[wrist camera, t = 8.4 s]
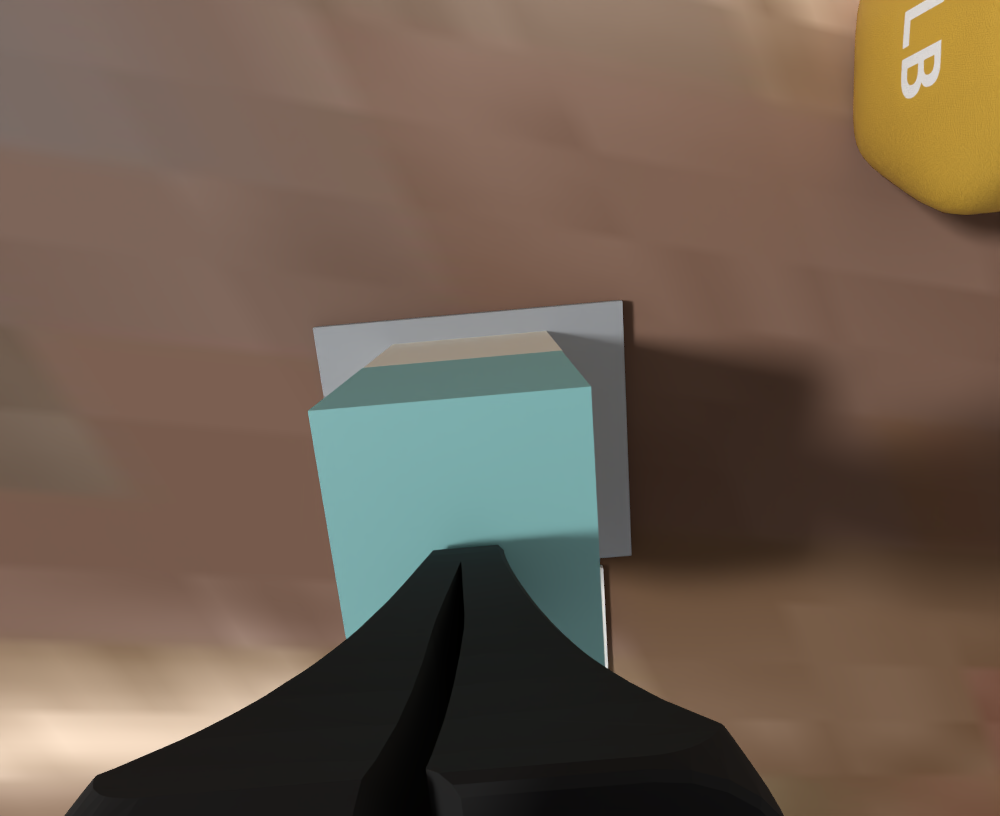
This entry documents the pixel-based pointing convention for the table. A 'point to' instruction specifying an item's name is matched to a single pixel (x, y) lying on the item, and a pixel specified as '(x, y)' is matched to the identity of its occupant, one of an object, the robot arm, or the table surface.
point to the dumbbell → (931, 99)
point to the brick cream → (466, 348)
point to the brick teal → (464, 480)
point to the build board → (575, 328)
